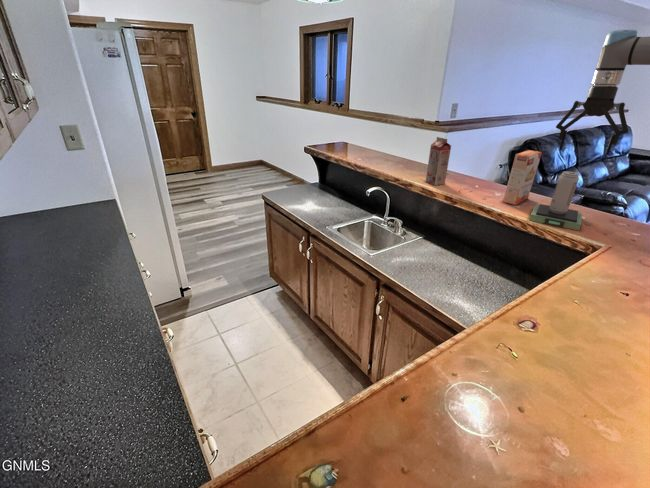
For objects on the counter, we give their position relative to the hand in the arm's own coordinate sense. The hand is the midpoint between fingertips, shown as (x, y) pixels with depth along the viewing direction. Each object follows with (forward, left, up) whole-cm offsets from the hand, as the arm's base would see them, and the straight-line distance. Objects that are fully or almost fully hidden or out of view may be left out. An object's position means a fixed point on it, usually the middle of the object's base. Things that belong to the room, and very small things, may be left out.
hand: (582, 151), depth 123 cm
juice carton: (+56, -19, -26) cm, 64 cm away
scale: (+2, +1, -26) cm, 26 cm away
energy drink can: (+2, +1, -23) cm, 23 cm away
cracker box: (+18, -14, -26) cm, 34 cm away
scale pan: (+2, +1, -23) cm, 23 cm away
